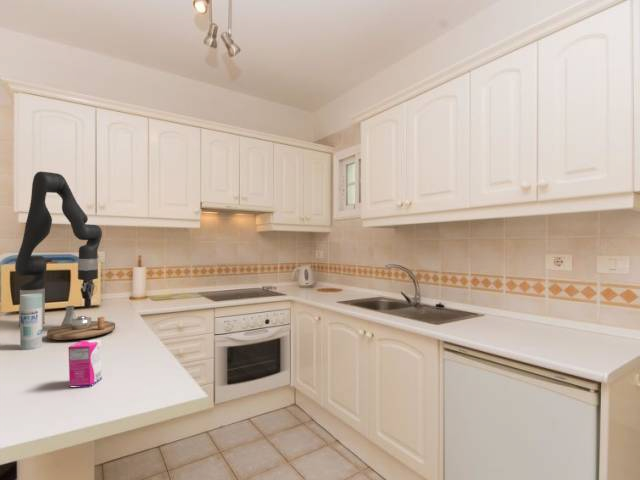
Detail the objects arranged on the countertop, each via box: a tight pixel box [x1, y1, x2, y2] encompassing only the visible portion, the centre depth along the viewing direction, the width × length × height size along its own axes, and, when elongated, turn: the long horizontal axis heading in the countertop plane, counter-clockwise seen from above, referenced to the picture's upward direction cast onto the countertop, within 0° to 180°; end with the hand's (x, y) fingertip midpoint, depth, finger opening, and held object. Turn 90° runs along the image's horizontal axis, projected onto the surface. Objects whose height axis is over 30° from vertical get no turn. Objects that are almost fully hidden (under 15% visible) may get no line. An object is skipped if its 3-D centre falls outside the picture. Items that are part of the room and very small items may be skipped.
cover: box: [72, 315, 92, 330], centre depth 147 cm, size 7×7×5 cm
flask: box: [60, 305, 77, 326], centre depth 160 cm, size 7×7×10 cm
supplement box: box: [68, 339, 103, 387], centre depth 96 cm, size 6×6×12 cm
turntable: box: [46, 316, 116, 341], centre depth 147 cm, size 24×24×7 cm
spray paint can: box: [19, 293, 43, 351], centre depth 130 cm, size 6×6×20 cm
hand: (87, 306), depth 154 cm, fingers closed
